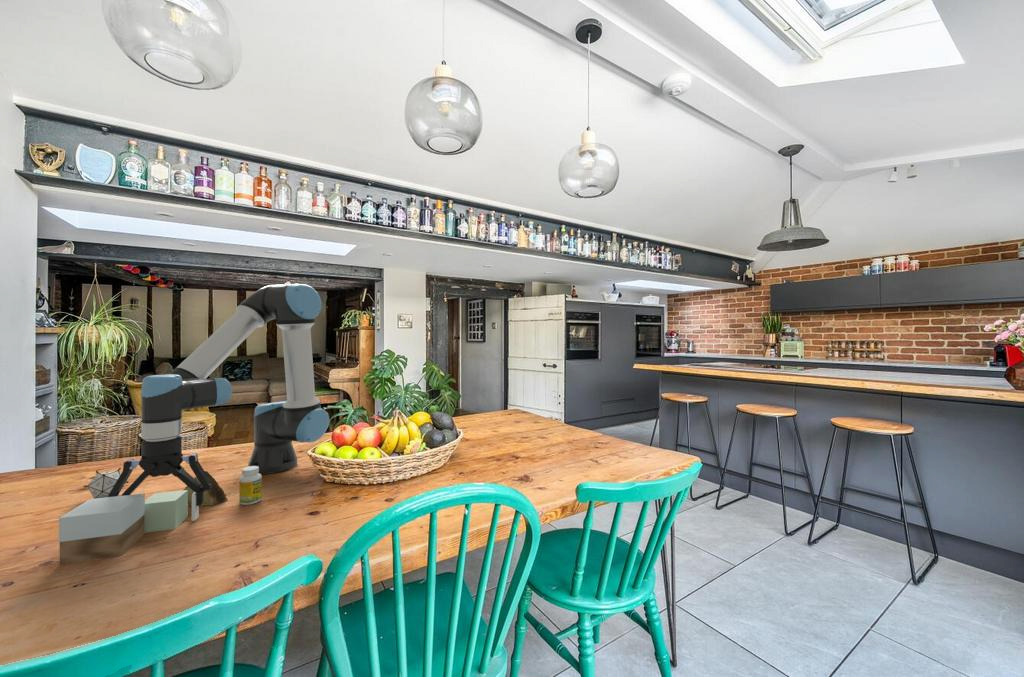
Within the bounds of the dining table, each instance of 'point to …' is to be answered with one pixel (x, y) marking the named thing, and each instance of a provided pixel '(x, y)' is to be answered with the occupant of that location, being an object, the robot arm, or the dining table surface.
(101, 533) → the tower top block
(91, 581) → the dining table surface
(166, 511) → the green cube
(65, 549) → the tower base block
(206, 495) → the rock
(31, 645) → the dining table surface
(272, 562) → the dining table surface
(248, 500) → the supplement bottle
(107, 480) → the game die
